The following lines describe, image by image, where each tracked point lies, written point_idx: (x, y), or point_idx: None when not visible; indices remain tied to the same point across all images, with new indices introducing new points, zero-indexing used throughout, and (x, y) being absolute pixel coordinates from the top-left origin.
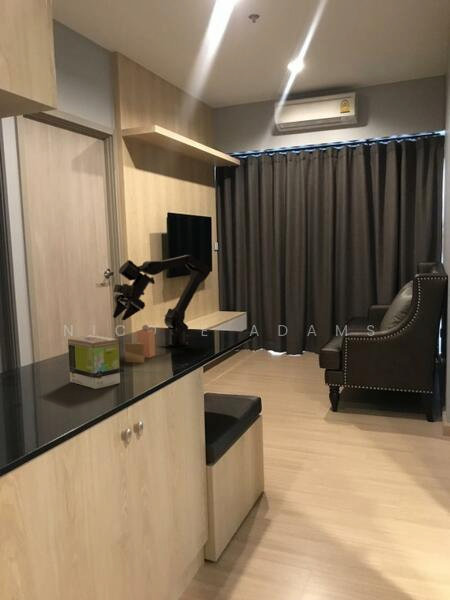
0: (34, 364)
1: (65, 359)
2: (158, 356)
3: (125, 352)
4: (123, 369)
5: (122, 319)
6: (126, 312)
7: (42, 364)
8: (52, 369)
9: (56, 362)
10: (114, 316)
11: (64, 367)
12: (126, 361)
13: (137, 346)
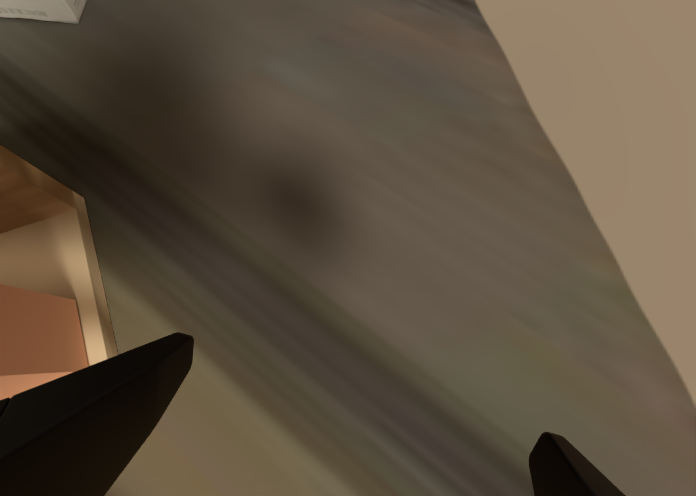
0: (477, 11)
1: (464, 120)
2: None
3: (27, 163)
4: (40, 143)
5: (178, 335)
6: (20, 401)
7: (450, 26)
8: (332, 4)
9: (438, 70)
10: (546, 458)
11: (320, 41)
12: (65, 190)
13: None
